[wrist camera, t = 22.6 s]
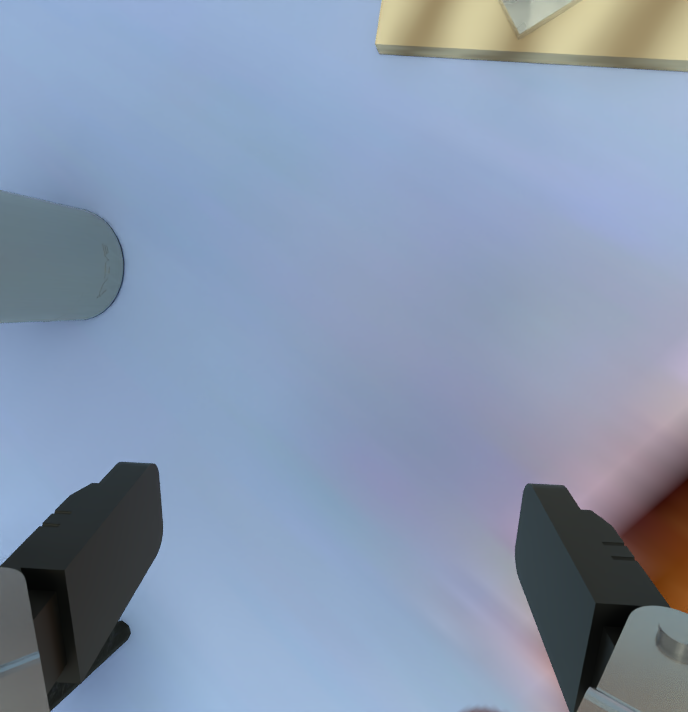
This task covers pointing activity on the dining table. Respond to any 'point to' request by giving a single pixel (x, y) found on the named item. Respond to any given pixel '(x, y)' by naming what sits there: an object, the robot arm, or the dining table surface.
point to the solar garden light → (110, 646)
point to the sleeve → (533, 13)
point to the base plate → (541, 33)
